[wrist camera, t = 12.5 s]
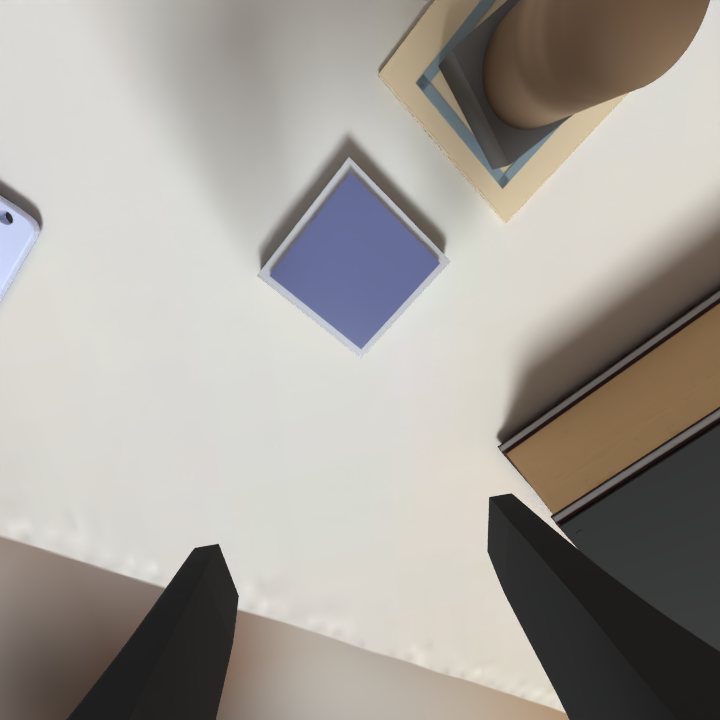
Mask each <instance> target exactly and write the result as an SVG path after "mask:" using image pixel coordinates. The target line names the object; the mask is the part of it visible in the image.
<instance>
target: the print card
mask: <svg viewBox="0 0 720 720" xmlns="http://www.w3.org/2000/svg"><path fill="white" fill-rule="evenodd" d="M506 1H507V0H434V1H433V3H432V4H431V5H430V7H429V8H428V9H427V11H426V12H425V13H424V15H423V16H422V17H421V19H420V20H419V21H418V23H417V24H416V25H415V27H414V28H413V29H412V31H411V32H410V33H409V35H408V36H407V37H406V39H405V40H404V41H403V43H402V44H401V45H400V47H399V48H398V49H397V51H396V52H395V53H394V55H393V56H392V57H391V59H390V60H389V61H388V63H387V64H386V65H385V66H384V68H383V69H382V70H381V72H380V73H379V77H380V78H381V79H382V80H383V81H384V82H385V84H386V85H387V86H388V87H389V88H390V89H391V91H392V92H393V93H394V94H395V95H396V96H397V98H398V99H399V100H400V101H401V102H402V103H403V105H404V106H405V107H406V108H407V109H408V110H409V112H410V113H411V114H412V115H413V116H414V117H415V119H416V120H417V121H418V122H419V123H420V124H421V126H422V127H423V128H424V129H425V130H426V131H427V133H428V134H429V135H430V136H431V137H432V138H433V140H434V141H435V142H436V143H437V144H438V145H439V147H440V148H441V149H442V150H443V151H444V152H445V154H446V155H447V156H448V157H449V158H450V159H451V161H452V162H453V163H454V164H455V165H456V166H457V168H458V169H459V170H460V171H461V172H462V173H463V175H464V176H465V177H466V178H467V179H468V180H469V182H470V183H471V184H472V185H473V186H474V187H475V189H476V190H477V191H478V192H479V193H480V194H481V196H482V197H483V198H484V199H485V200H486V201H487V203H488V204H489V205H490V206H491V207H492V208H493V210H494V211H495V212H496V213H497V214H498V215H499V217H500V218H501V219H502V220H503V221H504V222H505V223H507V222H508V221H509V220H510V219H511V218H512V217H513V215H514V214H515V213H516V212H517V211H518V210H519V209H520V208H521V207H522V206H523V205H524V204H525V203H526V202H527V201H528V200H529V198H530V197H531V196H532V195H533V194H534V193H535V192H536V191H537V190H538V189H539V188H540V187H541V186H542V185H543V184H544V183H545V181H546V180H547V179H548V178H549V177H550V176H551V175H552V174H553V173H554V172H555V171H556V170H557V169H558V168H559V167H560V165H561V164H562V163H563V162H564V161H565V160H566V159H567V158H568V157H569V156H570V155H571V154H572V153H573V152H574V151H575V150H576V148H577V147H578V146H579V145H580V144H581V143H582V142H583V141H584V140H585V139H586V138H587V137H588V136H589V135H590V134H591V132H592V131H593V130H594V129H595V128H596V127H597V126H598V125H599V124H600V123H601V122H602V121H603V120H604V119H605V118H606V117H607V115H608V114H609V113H610V112H611V111H612V110H613V109H614V108H615V107H616V106H617V105H618V104H619V103H620V102H621V101H622V99H623V98H624V97H625V96H626V95H627V94H628V93H626V94H624V95H621V96H619V97H616V98H614V99H611V100H608V101H606V102H603V103H601V104H598V105H596V106H593V107H591V108H588V109H586V110H583V111H581V112H578V113H575V114H574V115H572V116H571V117H570V118H569V119H567V120H566V121H565V122H564V123H562V124H561V125H560V126H559V127H557V128H556V129H555V130H554V131H552V132H551V133H550V134H548V135H547V136H546V137H545V138H543V139H542V140H541V141H540V142H538V143H537V144H536V145H535V146H533V147H532V148H531V149H530V150H528V151H527V152H526V153H525V154H523V155H522V156H521V157H519V158H518V159H517V160H516V161H514V162H513V163H512V164H511V165H509V166H505V167H501V168H497V169H494V170H492V168H491V166H490V164H489V163H488V161H487V159H486V157H485V155H484V153H483V151H482V149H481V147H480V145H479V143H478V141H477V139H476V138H475V136H474V134H473V132H472V130H471V128H470V126H469V124H468V122H467V120H466V118H465V116H464V114H463V113H462V111H461V109H460V107H459V105H458V103H457V101H456V99H455V97H454V95H453V93H452V91H451V89H450V88H449V86H448V84H447V82H446V80H445V78H444V76H443V74H442V72H441V70H440V68H439V64H440V63H441V62H442V61H443V59H444V58H445V57H446V56H447V54H448V53H449V52H450V51H451V49H452V48H454V47H455V46H456V45H457V44H458V43H459V42H460V41H462V40H463V39H464V38H465V37H466V36H467V35H468V34H470V33H471V32H472V31H473V30H474V29H475V28H476V27H478V26H479V25H480V24H481V23H482V22H483V21H484V20H485V19H487V18H488V17H489V16H490V15H491V14H492V13H493V12H495V11H496V10H497V9H498V8H499V7H500V6H501V5H503V4H504V3H505V2H506Z"/></svg>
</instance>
